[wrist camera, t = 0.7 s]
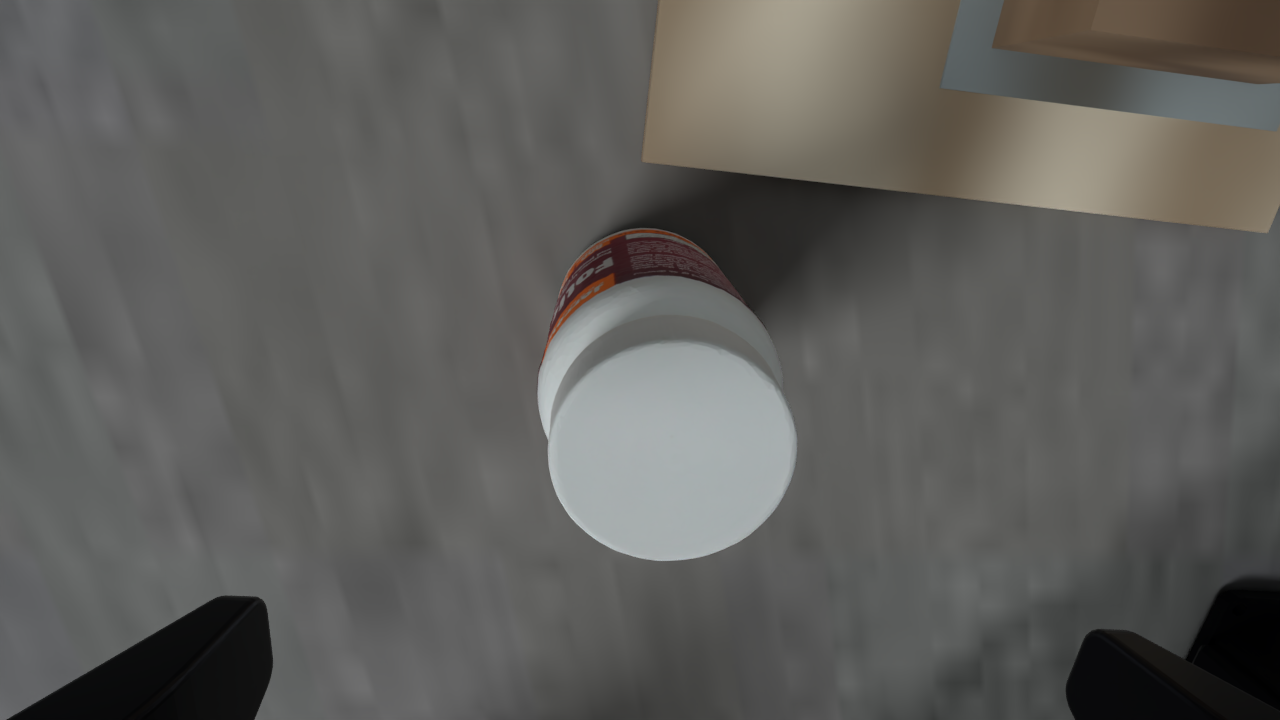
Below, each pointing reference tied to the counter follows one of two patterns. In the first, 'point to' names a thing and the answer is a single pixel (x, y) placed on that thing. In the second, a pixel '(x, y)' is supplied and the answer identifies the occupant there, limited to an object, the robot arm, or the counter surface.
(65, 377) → the counter surface
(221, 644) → the robot arm
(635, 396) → the pill bottle
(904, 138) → the plate
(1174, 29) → the walnut block
